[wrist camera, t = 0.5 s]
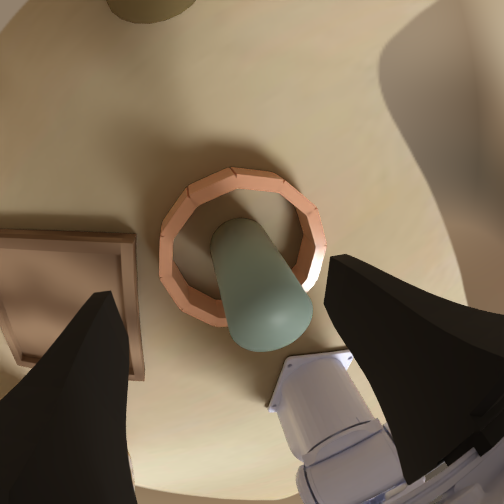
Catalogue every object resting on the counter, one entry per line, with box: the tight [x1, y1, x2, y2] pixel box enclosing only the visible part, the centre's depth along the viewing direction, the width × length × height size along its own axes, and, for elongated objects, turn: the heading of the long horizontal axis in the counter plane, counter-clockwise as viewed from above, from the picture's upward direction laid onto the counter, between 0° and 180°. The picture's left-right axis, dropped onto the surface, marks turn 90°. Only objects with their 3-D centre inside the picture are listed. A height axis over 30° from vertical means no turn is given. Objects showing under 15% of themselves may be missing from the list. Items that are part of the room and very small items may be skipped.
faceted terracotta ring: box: [159, 167, 327, 327], centre depth 19 cm, size 11×11×2 cm
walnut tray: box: [0, 229, 145, 381], centre depth 18 cm, size 13×13×2 cm
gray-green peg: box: [210, 218, 313, 352], centre depth 17 cm, size 4×4×8 cm
